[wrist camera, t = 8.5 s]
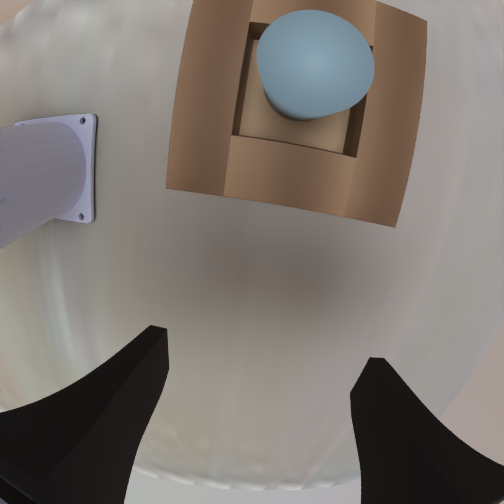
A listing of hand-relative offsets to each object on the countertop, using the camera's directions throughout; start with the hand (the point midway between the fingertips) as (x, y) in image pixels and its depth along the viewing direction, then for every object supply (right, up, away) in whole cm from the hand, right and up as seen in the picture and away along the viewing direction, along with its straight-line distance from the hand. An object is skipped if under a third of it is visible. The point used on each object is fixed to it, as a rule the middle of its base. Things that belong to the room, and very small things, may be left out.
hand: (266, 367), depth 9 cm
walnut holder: (+2, +13, +5) cm, 14 cm away
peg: (+2, +13, +5) cm, 14 cm away
